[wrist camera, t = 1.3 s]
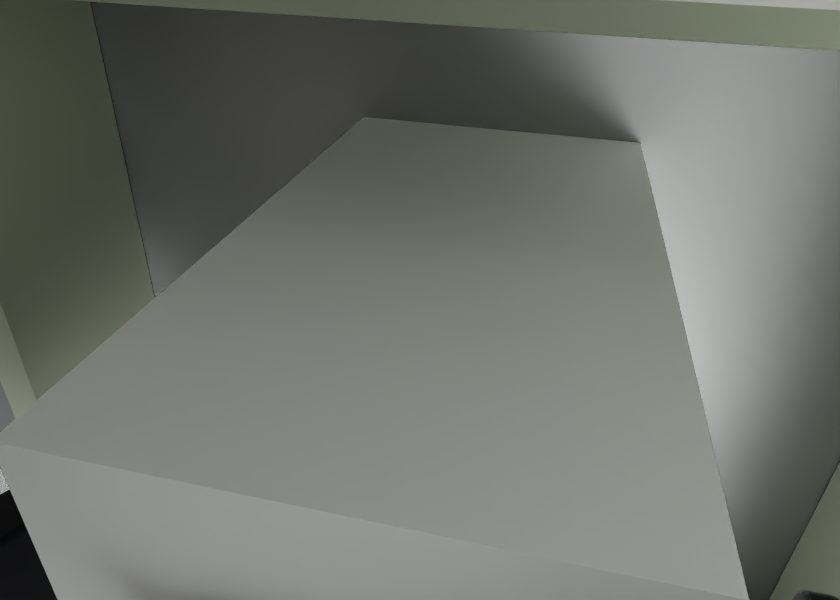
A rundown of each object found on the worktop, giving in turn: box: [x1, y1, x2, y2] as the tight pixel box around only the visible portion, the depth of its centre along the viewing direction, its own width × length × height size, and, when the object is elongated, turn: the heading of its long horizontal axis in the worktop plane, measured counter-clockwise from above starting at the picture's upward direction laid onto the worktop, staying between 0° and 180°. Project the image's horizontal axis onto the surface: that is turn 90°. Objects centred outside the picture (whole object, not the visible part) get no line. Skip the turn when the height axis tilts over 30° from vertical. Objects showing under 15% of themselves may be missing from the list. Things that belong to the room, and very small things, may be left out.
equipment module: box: [0, 117, 749, 600], centre depth 9 cm, size 8×4×8 cm, turn 178°
